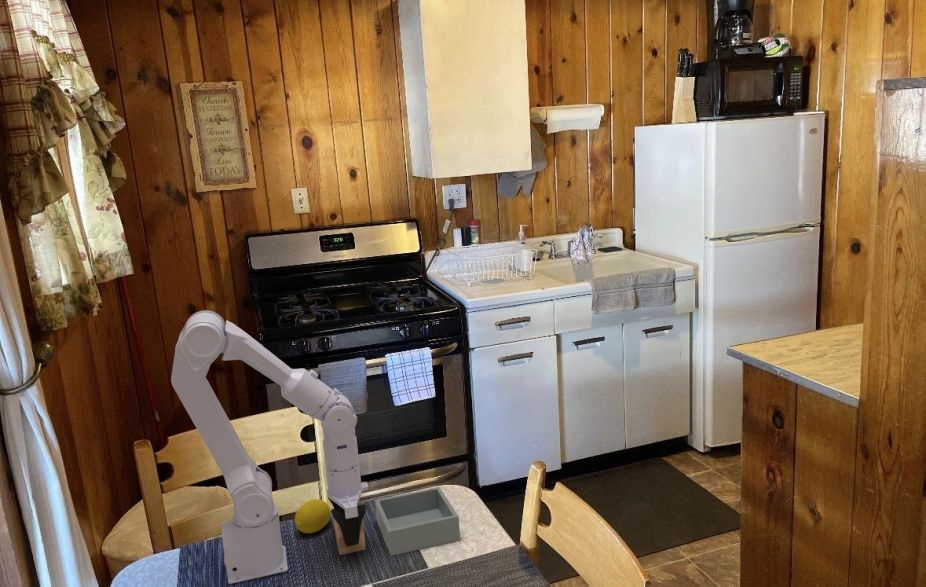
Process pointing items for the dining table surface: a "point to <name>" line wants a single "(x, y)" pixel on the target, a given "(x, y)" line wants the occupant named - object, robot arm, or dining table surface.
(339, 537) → the carton
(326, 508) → the lemon
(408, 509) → the tote
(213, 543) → the dining table surface
